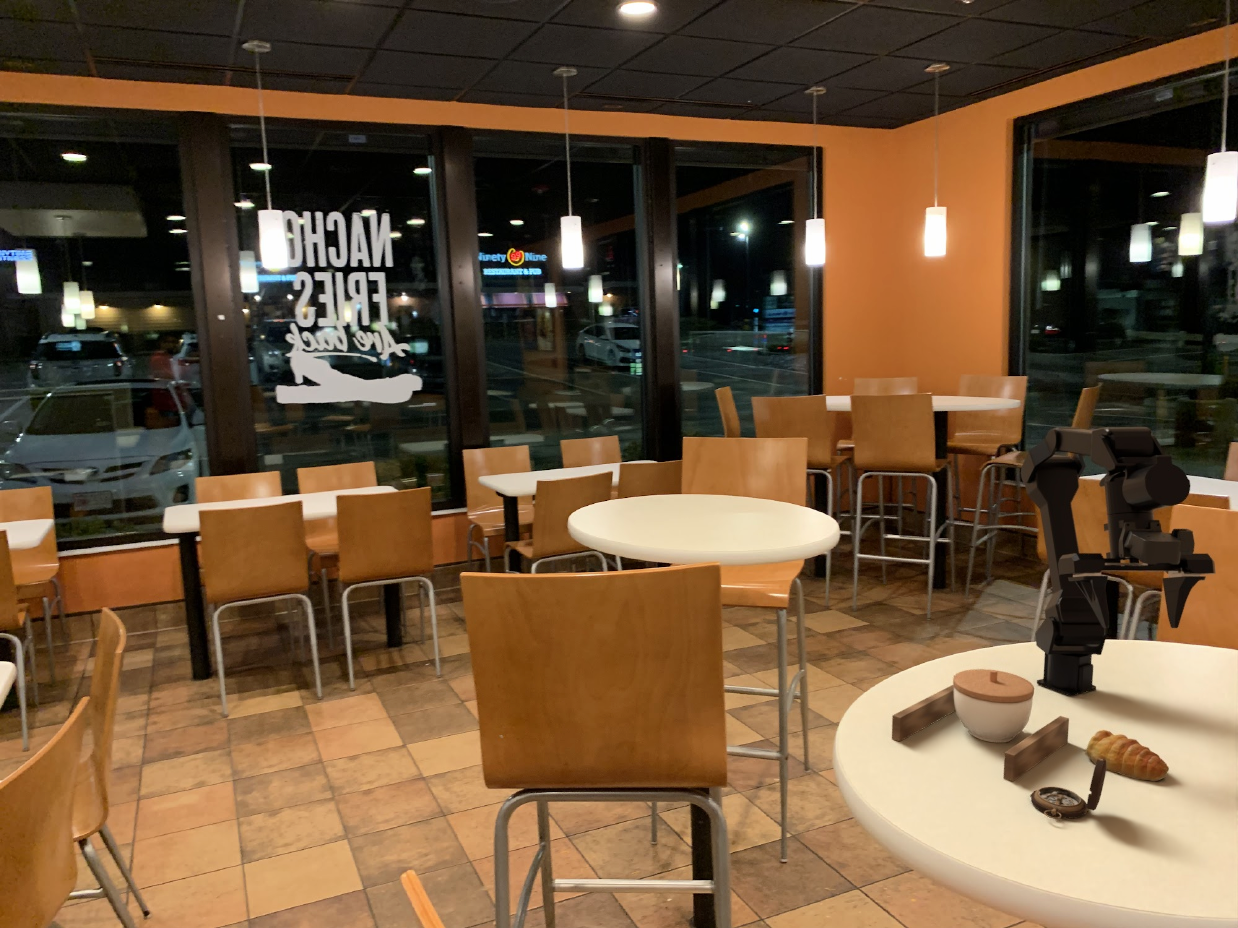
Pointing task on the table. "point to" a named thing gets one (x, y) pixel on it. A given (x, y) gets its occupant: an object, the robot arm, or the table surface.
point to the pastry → (1126, 756)
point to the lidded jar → (992, 703)
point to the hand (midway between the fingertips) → (1140, 627)
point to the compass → (1070, 797)
